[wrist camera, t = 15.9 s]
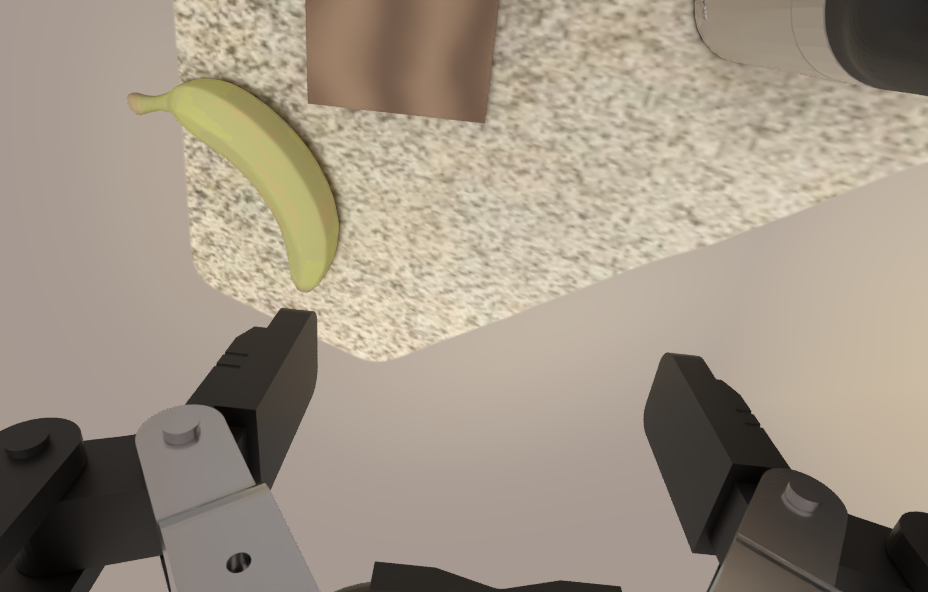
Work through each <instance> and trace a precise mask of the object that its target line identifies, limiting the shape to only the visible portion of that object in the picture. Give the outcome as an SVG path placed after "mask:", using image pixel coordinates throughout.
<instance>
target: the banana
mask: <svg viewBox="0 0 928 592" xmlns="http://www.w3.org/2000/svg"><path fill="white" fill-rule="evenodd" d="M127 100H128V105H129V107H130V108H131V110H132V111H133V112H135V113H136V114H138V115H142V114H146V113H149V112H152V111H159V110H162V111H167V112H171V113H173V114H174V116H175V118H176V119H177V120H178V121H179V122H180V124H181V125H182V126H183V127H185V128H186V129H187V130H188V131H189V132H190V133H192V134H193V135H194V136H195V137H197V138H198V139H199V140H201V141H202V142H203V143H205V144H206V145H208V146H209V147H211V148H212V149H214V150H215V151H216V152H218V153H219V154H221V155H222V156H223V157H225V158H226V159H227V160H228V161H230V162H231V163H232V164H233V165H234V166H235V167H236V168H237V169H238V170H239V171H240V172H241V173H242V174H243V175H244V176H245V177H246V178H247V179H248V180H249V181H250V182H251V183H252V184H253V186H254V187H255V188H256V190H257V191H258V192H259V194H260V195H261V197H262V198H263V199H264V201H265V202H266V204H267V205H268V207H269V208H270V210H271V212H272V213H273V215H274V217H275V219H276V221H277V223H278V225H279V228H280V230H281V233H282V236H283V239H284V242H285V245H286V249H287V254H288V260H289V266H290V273H291V277H292V280H293V282H294V284H295V286H296V288H297V289H298V290H299V291H301V292H310V291H311V290H312V289H314V288H315V287H316V286H317V285H318V284H319V283H320V281H321V280H322V278H323V277H324V275H325V274H326V272H327V270H328V268H329V267H330V265H331V263H332V261H333V258H334V256H335V252H336V247H337V241H338V234H339V222H338V216H337V210H336V206H335V202H334V198H333V195H332V192H331V189H330V187H329V185H328V182H327V180H326V178H325V176H324V174H323V172H322V170H321V168H320V166H319V165H318V163H317V161H316V160H315V158H314V156H313V155H312V153H311V152H310V150H309V149H308V148H307V146H306V145H305V144H304V142H303V141H302V140H301V138H300V137H299V136H298V135H297V134H296V133H295V131H294V130H293V129H292V128H291V127H290V126H289V125H288V124H287V123H286V122H285V121H284V120H283V119H282V118H281V117H280V116H278V115H277V114H276V113H275V112H274V111H273V110H272V109H271V108H269V107H268V106H267V105H266V104H264V103H263V102H262V101H260V100H259V99H258V98H256V97H255V96H253V95H252V94H250V93H248V92H247V91H245V90H243V89H242V88H240V87H238V86H236V85H234V84H231V83H229V82H225V81H222V80H217V79H209V78H202V79H196V80H192V81H189V82H186V83H184V84H181V85H179V86H177V87H176V88H174V89H173V90H172V91H170V92H168V93H165V94H163V95H160V96H147V95H143V94H140V93H131V94H129V95H128V97H127Z"/></svg>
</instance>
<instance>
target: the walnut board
mask: <svg viewBox="0 0 928 592" xmlns="http://www.w3.org/2000/svg"><path fill="white" fill-rule="evenodd" d="M498 6H499V0H306V43H307V87H308V103H309V104H318V105H327V106H336V107H344V108H353V109H362V110H371V111H380V112H389V113H398V114H407V115H416V116H425V117H434V118H443V119H451V120H460V121H469V122H478V123H485V116H486V107H487V99H488V90H489V82H490V73H491V65H492V57H493V48H494V40H495V31H496V23H497V14H498Z"/></svg>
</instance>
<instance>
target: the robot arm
mask: <svg viewBox="0 0 928 592" xmlns="http://www.w3.org/2000/svg"><path fill="white" fill-rule="evenodd" d="M695 19H696V24H697V28H698V31H699V33H700V35H701V37H702V39H703V41H704V43H705V44H706V45H707V46H708V47H709V49H710V50H711V51H712V52H714V53H715V54H717V55H718V56H720V57H721V58H724V59H726V60H729V61H732V62H737V63H742V64H748V65H753V66H757V67H763V68H768V69H774V70H779V71H785V72H790V73H796V74H801V75H807V76H812V77H818V78H823V79H829V80H834V81H840V82H845V83H852V84H858V85H863V86H869V87H874V88H879V89H885V90H891V91H898V92H905V93H912V94H918V95H924V96H928V0H695ZM317 365H318V364H317V316H316V313H315V312H314V311H305V310H296V309H288V308H281V309H280V310H279V311H278V313H277V314H276V316H275V317H274V319H273V320H272V322H271V323H270V324H269V326H268V327H267V328H263V327H253V328H252V329H250V330H248V331H246V332H245V333H243V334H241V335H240V336H238V337H236V338H235V340H234V341H233V343H232V344H231V345H230V346H229V348H228V349H227V350H226V352H225V355H222V357H221V358H220V359H219V361H218V362H217V365H216V366H214V367H213V369H212V370H211V371H210V373H209V374H208V375H207V376H206V378H205V379H204V381H203V382H202V383H201V384H200V386H199V387H198V388H197V390H196V391H195V392H194V394H193V395H192V396H191V398H190V399H189V400H188V401H187V403H186V404H185V405H181V406H177V407H172V408H169V409H166V410H164V411H161V412H159V413H157V414H155V415H154V416H152V417H151V418H149V419H148V420H147V421H145V422H144V423H143V424H142V425H141V427H140V428H139V429H138V431H137V433H136V434H134V435H129V436H122V437H113V438H104V439H95V440H87V441H83V438H82V434H81V430H80V428H79V427H78V426H77V425H76V424H75V423H74V422H72V421H70V420H66V419H62V418H39V419H33V420H29V421H25V422H22V423H19V424H16V425H13V426H11V427H8V428H6V429H4V430H2V431H0V592H89V591H90V589H91V588H92V586H93V584H94V583H95V581H96V579H97V578H98V576H99V574H100V573H101V571H102V570H103V568H104V566H105V565H110V564H116V563H121V562H127V561H132V560H138V559H143V558H149V557H154V556H159V559H160V563H161V567H162V571H163V575H164V579H165V583H166V587H167V591H168V592H320V590H319V588H318V586H317V584H316V582H315V580H314V578H313V576H312V574H311V572H310V570H309V568H308V566H307V564H306V562H305V560H304V557H303V556H302V553H301V551H300V550H299V547H298V545H297V543H296V542H295V540H294V537H293V535H292V533H291V532H290V529H289V527H288V525H287V523H286V521H285V519H284V517H283V515H282V513H281V511H280V509H279V507H278V505H277V503H276V501H275V499H274V497H273V495H272V493H271V491H270V490H271V488H272V486H273V483H274V481H275V479H276V477H277V474H278V472H279V470H280V467H281V465H282V463H283V461H284V458H285V456H286V454H287V452H288V449H289V447H290V445H291V442H292V440H293V438H294V436H295V434H296V432H297V429H298V427H299V425H300V422H301V420H302V418H303V416H304V414H305V411H306V409H307V407H308V404H309V402H310V400H311V398H312V395H313V393H314V389H315V385H316V379H317V368H318V366H317ZM644 429H645V433H646V436H647V438H648V441H649V444H650V446H651V449H652V451H653V454H654V456H655V459H656V461H657V464H658V466H659V469H660V471H661V474H662V477H663V479H664V482H665V484H666V487H667V489H668V492H669V494H670V497H671V500H672V502H673V504H674V507H675V510H676V512H677V515H678V517H679V520H680V522H681V525H682V528H683V530H684V533H685V535H686V538H687V540H688V543H689V545H690V548H691V551H692V553H699V554H708V555H716V556H717V558H718V561H719V565H718V567H717V569H716V571H715V574H714V575H713V578H712V580H711V582H710V584H709V587H708V589H707V591H706V592H928V513H924V512H908V513H905V514H903V515H902V516H901V518H900V519H899V521H898V522H897V524H896V525H895V527H894V528H893V529H891V528H888V527H885V526H882V525H879V524H876V523H873V522H870V521H867V520H864V519H861V518H858V517H855V516H852V515H850V514H848V513H847V510H846V508H845V505H844V504H843V502H842V501H841V500H840V498H839V497H838V496H837V495H836V494H835V493H834V492H833V491H832V490H831V489H829V488H828V487H827V486H825V485H824V484H823V483H821V482H819V481H818V480H816V479H814V478H812V477H811V476H808V475H806V474H804V473H801V472H798V471H795V470H791V469H790V467H789V466H788V464H787V463H786V461H785V460H784V458H783V457H782V455H781V454H780V452H779V451H778V449H777V448H776V447H775V445H774V444H773V442H772V441H771V439H770V438H769V436H768V435H767V433H766V432H765V430H764V429H763V428H760V423H759V422H758V420H757V419H756V417H755V416H754V415H753V414H751V410H750V408H749V407H748V406H747V404H746V403H745V402H744V400H743V398H742V397H741V395H740V394H738V393H737V392H736V391H735V390H733V389H732V388H731V387H730V386H728V385H727V384H726V383H725V382H723V381H722V380H717V379H715V377H714V375H713V374H712V372H711V371H710V369H709V368H708V366H707V364H706V363H705V361H704V360H703V359H702V358H701V357H700V356H694V355H685V354H676V353H665V354H664V355H663V357H662V358H661V360H660V363H659V366H658V369H657V372H656V375H655V378H654V381H653V384H652V387H651V390H650V393H649V396H648V399H647V402H646V406H645V410H644ZM335 592H622V590H621V587H620V586H610V585H600V584H591V583H581V582H571V581H561V580H560V581H554V582H547V583H541V584H534V585H527V586H521V587H514V588H508V589H496V588H492V587H489V586H487V585H484V584H481V583H478V582H475V581H472V580H469V579H467V578H464V577H461V576H458V575H455V574H452V573H449V572H447V571H444V570H441V569H438V568H434V567H423V566H413V565H404V564H395V563H385V562H375V564H374V569H373V574H372V579H371V582H367V583H360V584H356V585H353V586H349V587H345V588H343V589H340V590H338V591H335Z"/></svg>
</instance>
